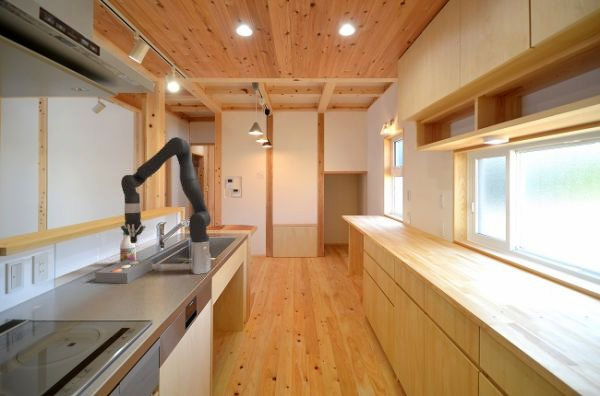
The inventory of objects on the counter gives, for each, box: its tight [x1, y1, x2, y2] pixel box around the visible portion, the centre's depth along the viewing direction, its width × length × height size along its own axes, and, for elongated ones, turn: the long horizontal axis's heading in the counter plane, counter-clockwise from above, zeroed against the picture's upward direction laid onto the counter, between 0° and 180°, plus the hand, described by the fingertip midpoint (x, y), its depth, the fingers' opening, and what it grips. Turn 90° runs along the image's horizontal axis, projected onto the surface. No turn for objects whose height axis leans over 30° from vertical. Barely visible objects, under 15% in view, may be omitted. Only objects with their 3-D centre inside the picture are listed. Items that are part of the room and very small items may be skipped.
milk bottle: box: [119, 231, 137, 262], centre depth 160 cm, size 8×8×20 cm
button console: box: [94, 259, 154, 284], centre depth 142 cm, size 16×21×5 cm
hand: (133, 242), depth 148 cm, fingers closed
